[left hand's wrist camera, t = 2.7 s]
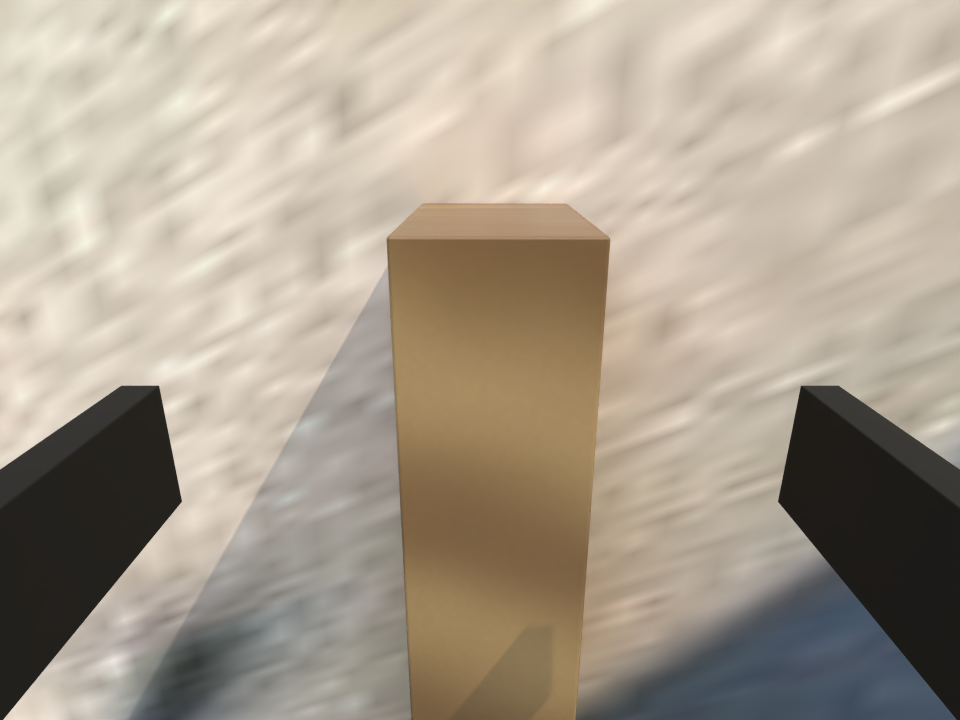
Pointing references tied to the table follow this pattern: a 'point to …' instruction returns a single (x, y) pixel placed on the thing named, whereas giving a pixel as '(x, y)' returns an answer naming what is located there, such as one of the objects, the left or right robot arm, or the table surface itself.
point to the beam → (496, 451)
